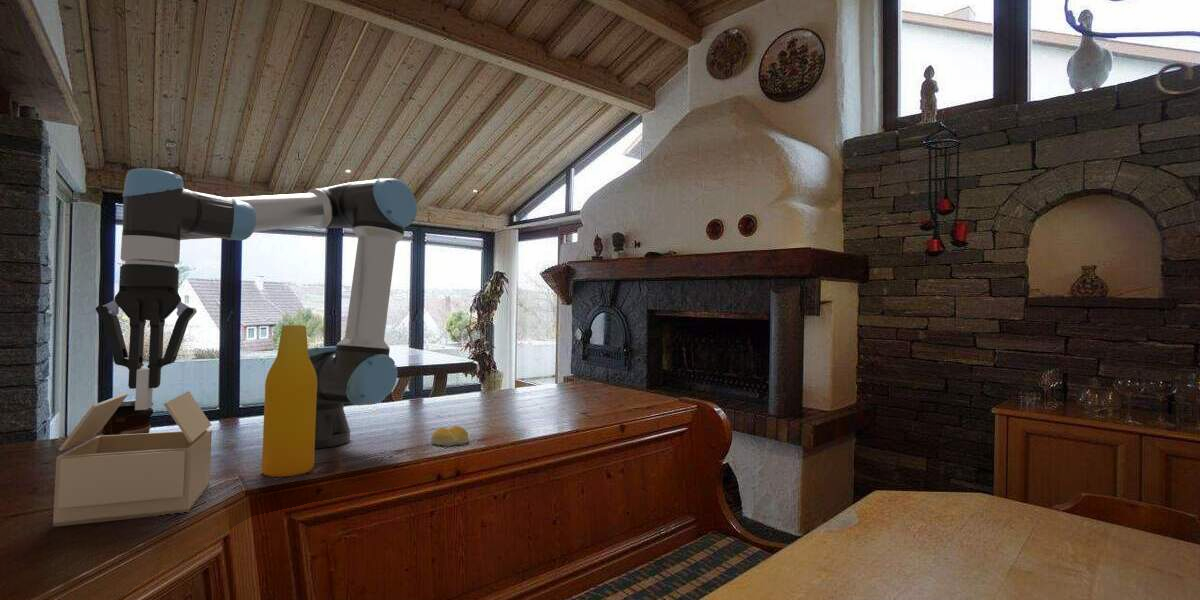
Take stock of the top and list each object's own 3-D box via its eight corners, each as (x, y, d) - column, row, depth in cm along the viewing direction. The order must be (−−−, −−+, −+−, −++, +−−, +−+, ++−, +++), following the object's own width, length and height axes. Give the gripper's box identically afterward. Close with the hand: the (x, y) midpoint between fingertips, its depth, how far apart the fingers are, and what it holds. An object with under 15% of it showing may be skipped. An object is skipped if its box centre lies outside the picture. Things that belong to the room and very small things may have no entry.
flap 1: (128, 393, 95) (126, 392, 95) (95, 406, 82) (92, 405, 82) (99, 431, 93) (97, 430, 93) (61, 450, 80) (58, 449, 80)
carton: (210, 484, 100) (212, 428, 101) (187, 514, 86) (190, 449, 86) (96, 494, 94) (99, 434, 94) (50, 528, 79) (54, 458, 79)
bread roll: (427, 441, 139) (428, 425, 139) (462, 438, 143) (463, 422, 143) (435, 448, 132) (436, 431, 132) (472, 445, 136) (472, 428, 136)
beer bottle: (317, 463, 116) (322, 325, 117) (310, 475, 107) (316, 326, 108) (267, 466, 113) (272, 324, 114) (255, 479, 104) (262, 325, 105)
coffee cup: (163, 464, 112) (166, 400, 113) (124, 476, 104) (128, 407, 104) (124, 462, 113) (128, 399, 113) (83, 474, 105) (86, 405, 105)
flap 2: (209, 426, 100) (211, 424, 100) (189, 442, 87) (192, 441, 87) (186, 392, 98) (188, 390, 98) (163, 404, 86) (166, 402, 86)
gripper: (203, 268, 97) (197, 403, 96) (108, 263, 91) (101, 406, 91) (193, 265, 90) (186, 410, 89) (89, 260, 85) (81, 414, 84)
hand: (143, 408), depth 90 cm, fingers closed
